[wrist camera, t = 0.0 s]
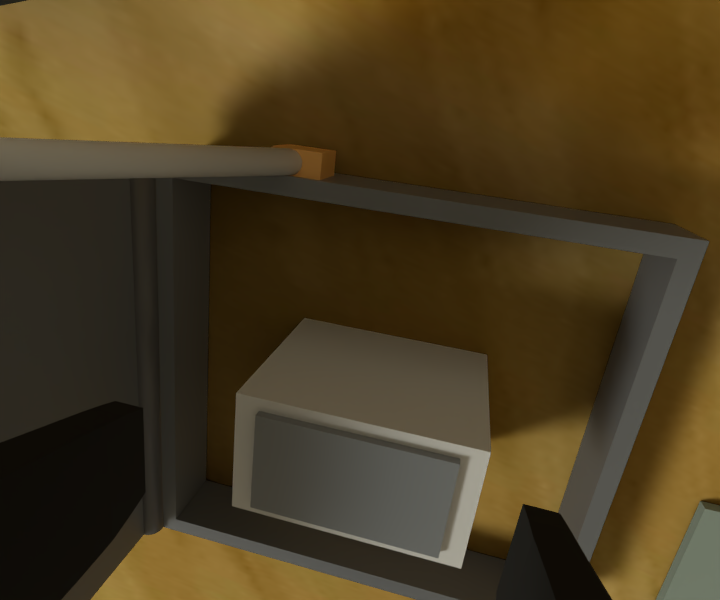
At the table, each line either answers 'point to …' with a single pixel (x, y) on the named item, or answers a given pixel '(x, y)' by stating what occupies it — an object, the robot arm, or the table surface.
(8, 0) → the watch
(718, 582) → the rubber mat
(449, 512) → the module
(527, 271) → the table surface
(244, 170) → the case
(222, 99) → the table surface
